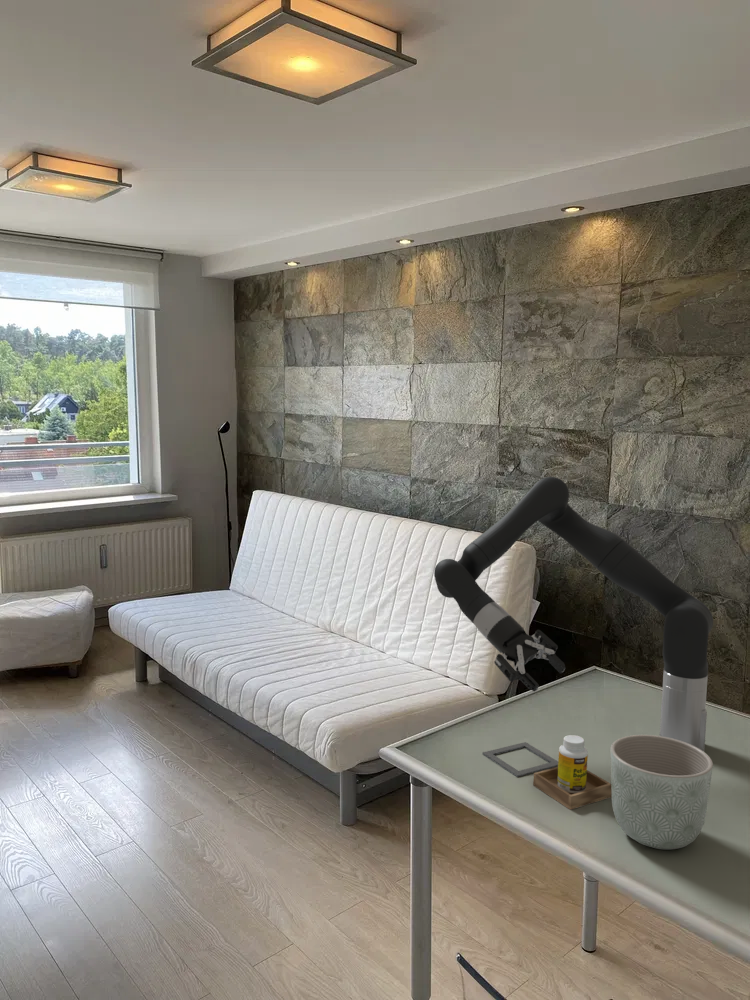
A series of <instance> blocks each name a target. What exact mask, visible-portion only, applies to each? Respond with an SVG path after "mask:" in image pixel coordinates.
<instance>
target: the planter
mask: <svg viewBox="0 0 750 1000" xmlns="http://www.w3.org/2000/svg"><path fill="white" fill-rule="evenodd" d="M713 763H714V762H713V760H712V758H711V757H710V756H709V755H708V754H707V753H706V752H705V751H704V752H703V751H702V750H700V749H699V748H697V747H695V746H693V745H691V744H688V743H686V742H683V741H680V740H676V739H673V738H668V737H663V736H660V735H655V734H634V735H633V734H632V735H626V736H623V737H619V738H618V739H615V740H614V741H613V742H612V743H611V745H610V781H611V782H610V784H611V791H612V797H611V805H612V810H613V814H614V817H615V820H616V822H617V823H618V825H619V827H620V829H621V830H622V831H623V832H624V833H625V834H626V836H628V837H629V838H631V839H632V840H634V841H635V842H638V843H639V844H641V845H643V846H646V847H649V848H654V849H657V850H664V851H665V850H667V851H668V850H676V849H681V848H684V847H687V846H688V845H690V844H691V843H692V842H694V841H695V840H696V839H697V838H698V837H699V835H700V833H701V831H702V829H703V826H704V825H705V824H704V823H705V821H706V820H705V819H706V816H707V814H706V813H707V809H708V808H707V807H708V801H709V795H710V789H711V781H712V775H713V769H714V764H713Z"/></svg>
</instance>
